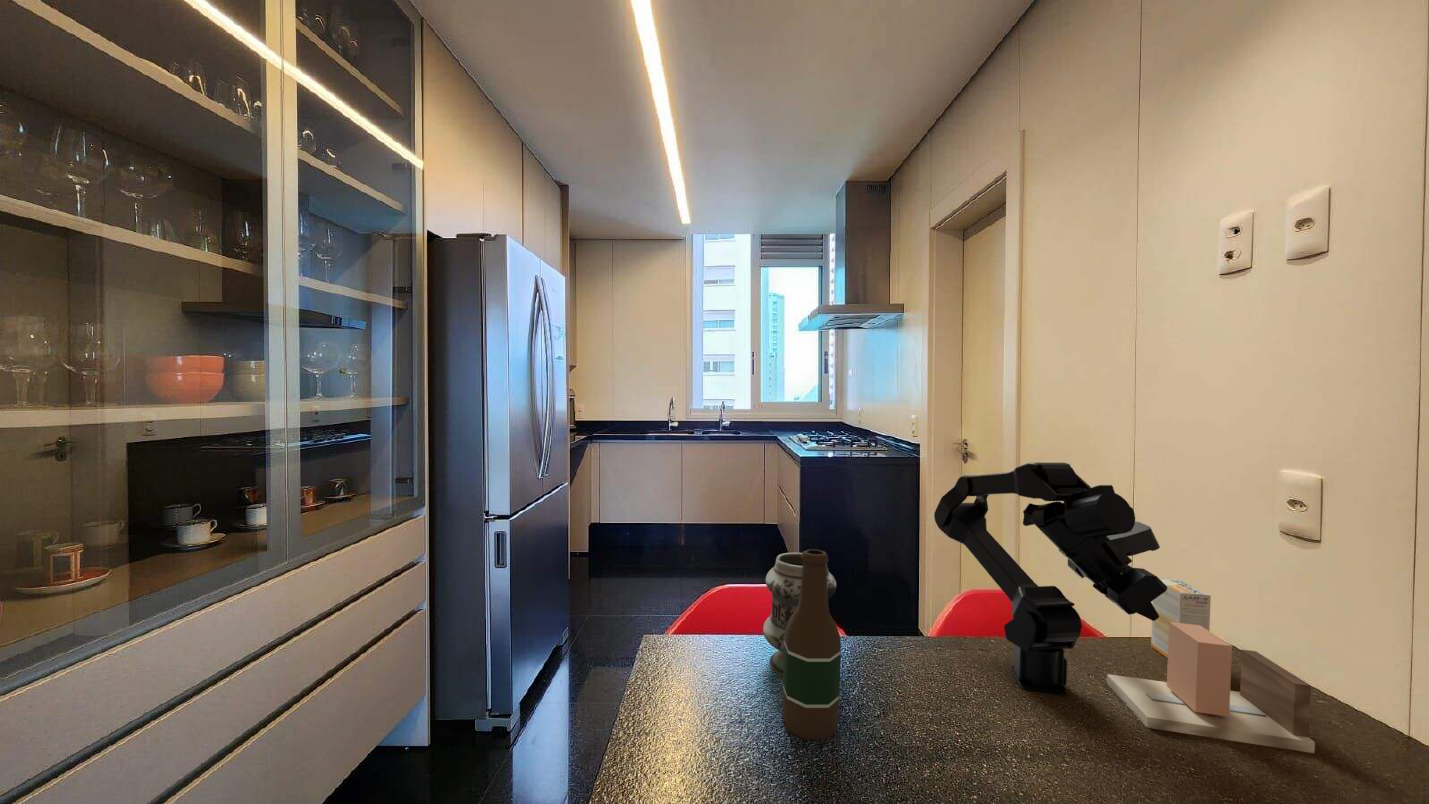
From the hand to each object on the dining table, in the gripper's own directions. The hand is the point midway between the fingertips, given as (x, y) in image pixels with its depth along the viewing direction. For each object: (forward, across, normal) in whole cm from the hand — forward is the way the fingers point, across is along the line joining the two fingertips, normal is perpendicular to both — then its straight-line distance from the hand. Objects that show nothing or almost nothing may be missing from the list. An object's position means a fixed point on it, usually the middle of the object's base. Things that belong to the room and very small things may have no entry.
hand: (1155, 617), depth 80 cm
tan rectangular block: (+12, 0, +4) cm, 13 cm away
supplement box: (+19, +20, 0) cm, 28 cm away
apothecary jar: (-27, -3, +47) cm, 54 cm away
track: (+14, 0, +5) cm, 15 cm away
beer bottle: (-25, -19, +45) cm, 55 cm away
